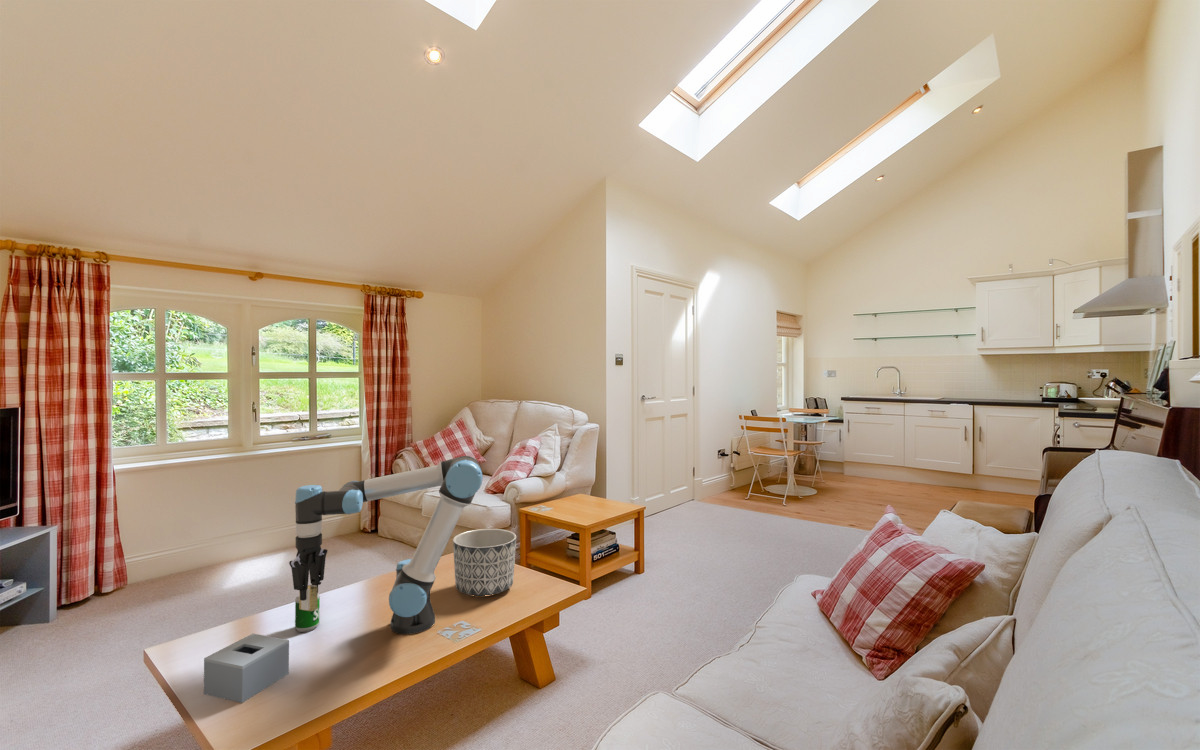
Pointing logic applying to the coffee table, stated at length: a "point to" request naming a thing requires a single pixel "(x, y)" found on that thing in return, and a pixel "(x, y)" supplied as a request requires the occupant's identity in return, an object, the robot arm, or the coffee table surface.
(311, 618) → the soda can
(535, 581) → the coffee table surface
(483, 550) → the planter
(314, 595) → the block
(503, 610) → the coffee table surface
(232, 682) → the box
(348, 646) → the coffee table surface
